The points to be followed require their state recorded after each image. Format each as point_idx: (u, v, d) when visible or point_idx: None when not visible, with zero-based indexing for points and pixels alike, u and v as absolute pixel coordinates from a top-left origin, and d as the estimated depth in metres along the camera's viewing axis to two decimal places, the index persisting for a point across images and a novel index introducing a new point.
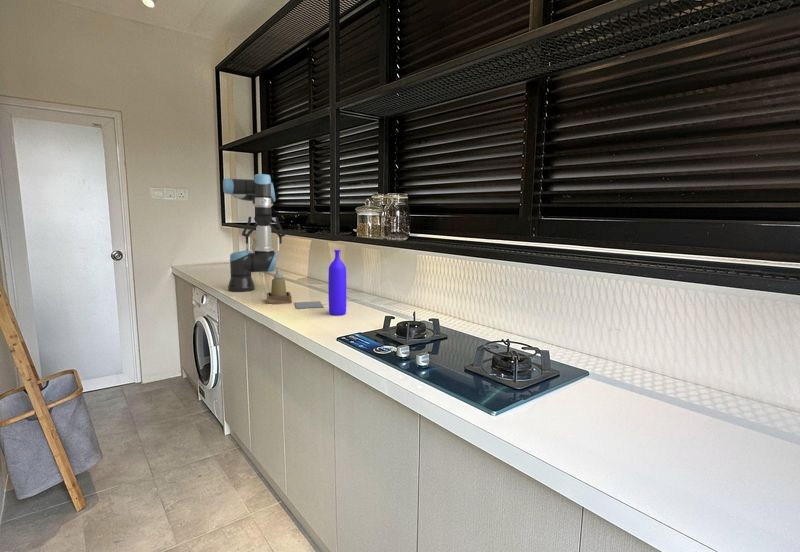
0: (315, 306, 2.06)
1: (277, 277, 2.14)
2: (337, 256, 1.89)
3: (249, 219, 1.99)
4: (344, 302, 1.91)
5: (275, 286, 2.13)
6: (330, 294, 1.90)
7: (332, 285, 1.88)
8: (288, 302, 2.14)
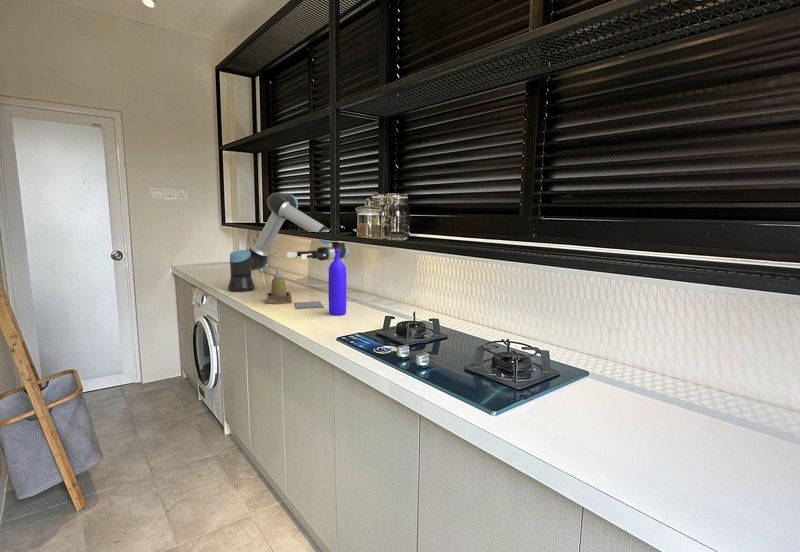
0: (315, 306, 2.06)
1: (277, 277, 2.14)
2: (337, 256, 1.89)
3: (323, 257, 2.29)
4: (344, 302, 1.91)
5: (275, 286, 2.13)
6: (330, 294, 1.90)
7: (332, 285, 1.88)
8: (288, 302, 2.14)
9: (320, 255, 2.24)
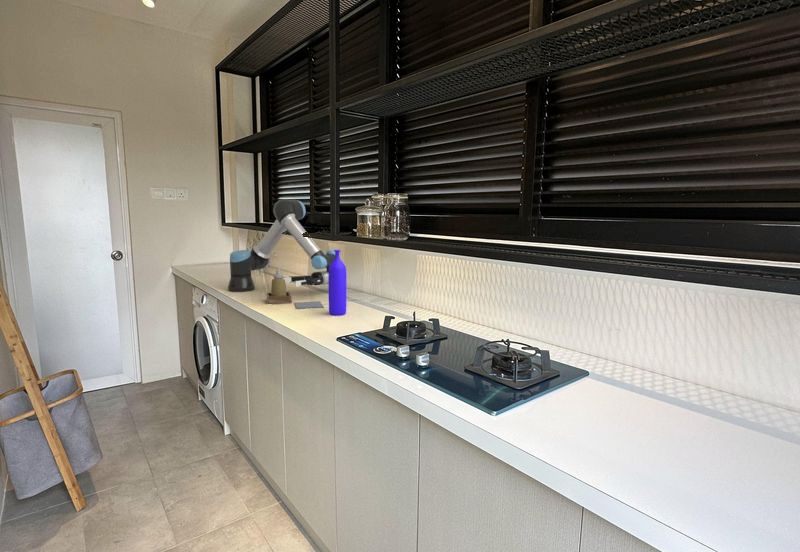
0: (315, 306, 2.06)
1: (277, 277, 2.14)
2: (337, 256, 1.89)
3: None
4: (344, 302, 1.91)
5: (275, 286, 2.13)
6: (330, 294, 1.90)
7: (332, 285, 1.88)
8: (288, 302, 2.14)
9: (314, 281, 2.23)
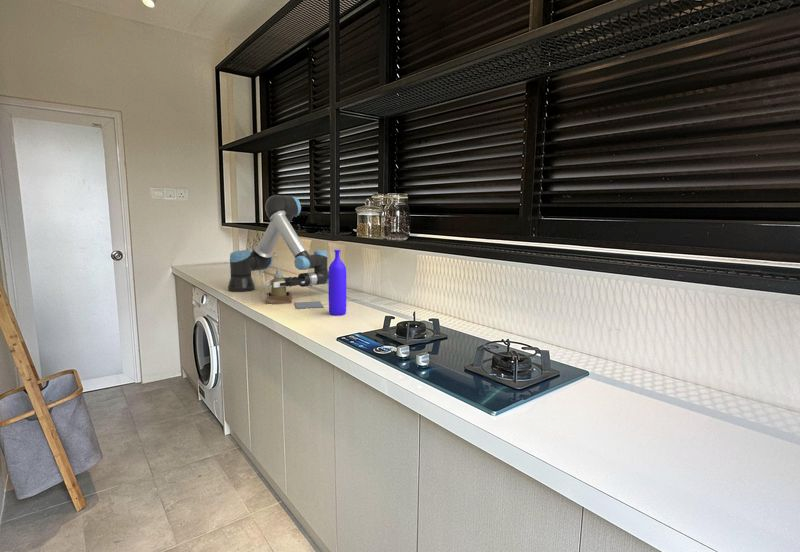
0: (315, 306, 2.06)
1: (277, 277, 2.14)
2: (337, 256, 1.89)
3: None
4: (344, 302, 1.91)
5: None
6: (330, 294, 1.90)
7: (332, 285, 1.88)
8: (288, 302, 2.14)
9: (295, 282, 2.17)
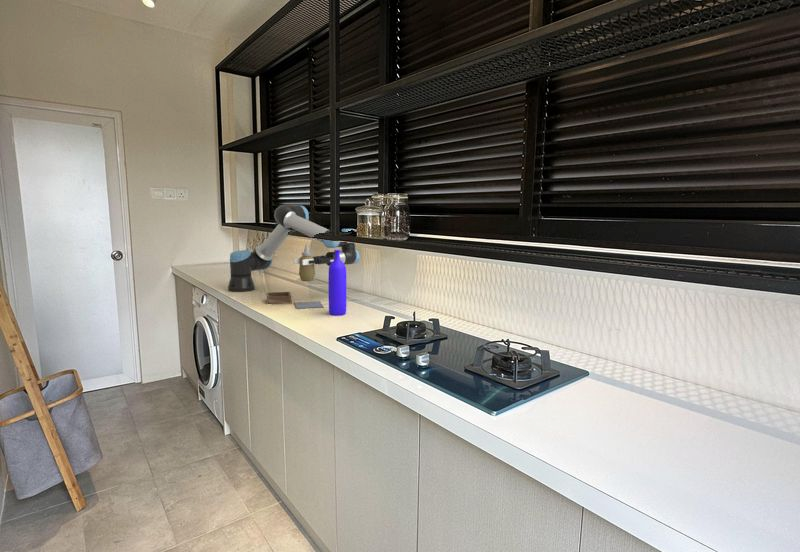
0: (315, 306, 2.06)
1: (306, 254, 2.05)
2: (337, 256, 1.89)
3: (331, 262, 2.11)
4: (344, 302, 1.91)
5: None
6: (330, 294, 1.90)
7: (332, 285, 1.88)
8: (288, 302, 2.14)
9: (325, 260, 2.07)
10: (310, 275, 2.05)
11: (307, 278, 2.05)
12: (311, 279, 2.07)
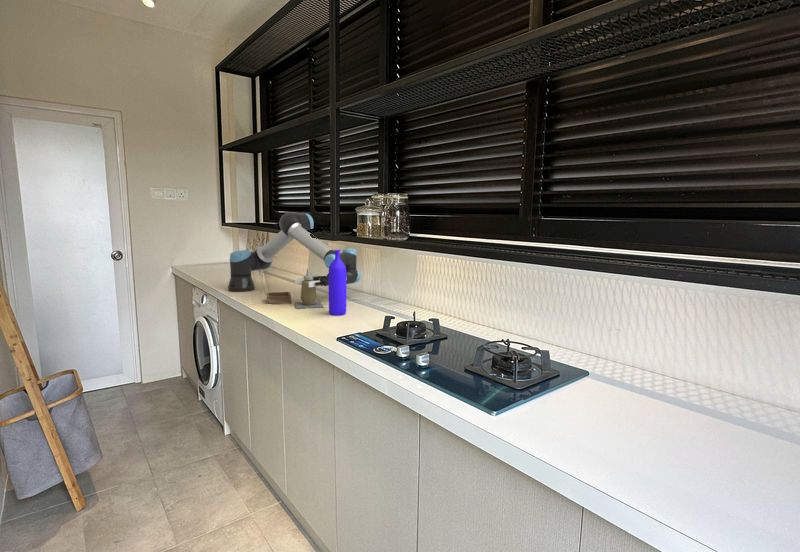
0: (315, 306, 2.06)
1: (307, 279, 2.06)
2: (337, 256, 1.89)
3: None
4: (344, 302, 1.91)
5: (305, 288, 2.05)
6: (330, 294, 1.90)
7: (332, 285, 1.88)
8: (288, 302, 2.14)
9: None
10: (311, 299, 2.07)
11: (309, 302, 2.07)
12: (312, 303, 2.08)
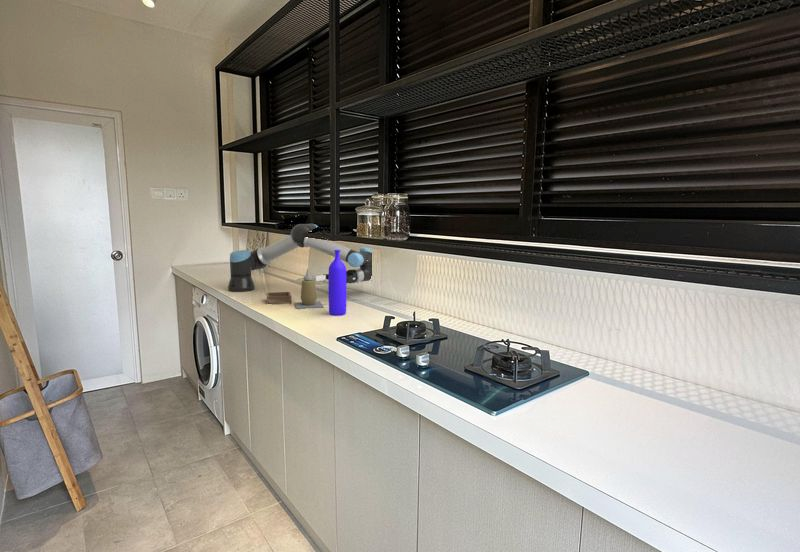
0: (315, 306, 2.06)
1: (307, 279, 2.06)
2: (337, 256, 1.89)
3: (353, 280, 2.23)
4: (344, 302, 1.91)
5: (305, 288, 2.06)
6: (330, 294, 1.90)
7: (332, 285, 1.88)
8: (288, 302, 2.14)
9: (350, 279, 2.18)
10: (311, 299, 2.07)
11: (309, 302, 2.07)
12: (312, 303, 2.08)
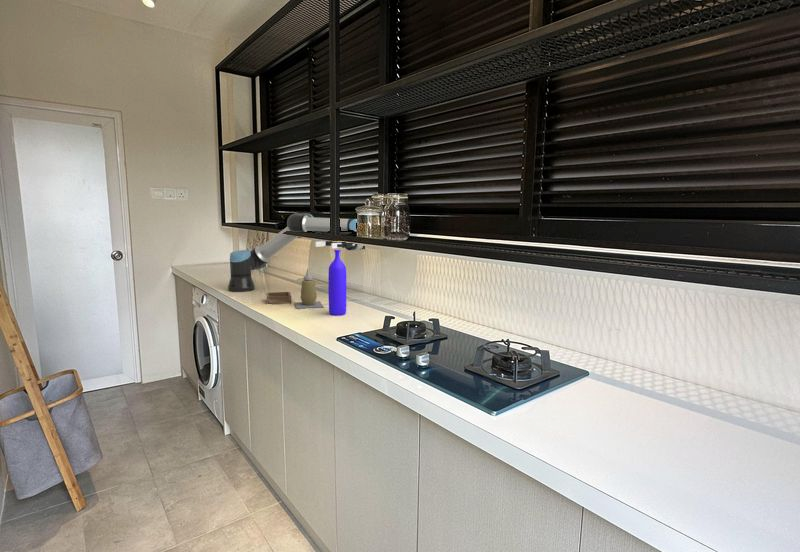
0: (315, 306, 2.06)
1: (307, 279, 2.06)
2: (337, 256, 1.89)
3: (352, 246, 2.26)
4: (344, 302, 1.91)
5: (305, 288, 2.06)
6: (330, 294, 1.90)
7: (332, 285, 1.88)
8: (288, 302, 2.14)
9: (350, 244, 2.21)
10: (311, 299, 2.07)
11: (309, 302, 2.07)
12: (312, 303, 2.08)
